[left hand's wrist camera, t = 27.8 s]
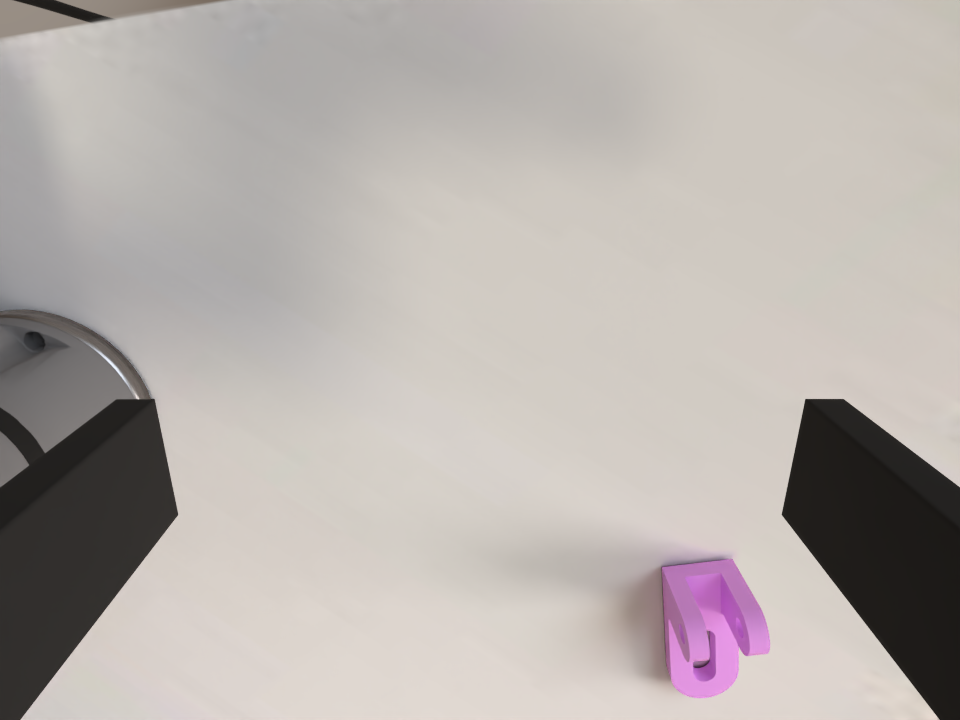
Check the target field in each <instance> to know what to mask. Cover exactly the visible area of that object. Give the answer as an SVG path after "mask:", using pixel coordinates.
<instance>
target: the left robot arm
mask: <svg viewBox="0 0 960 720" xmlns="http://www.w3.org/2000/svg"><path fill="white" fill-rule="evenodd" d="M14 1H17V2H21V3H25V4H28V5H32V6H36V7H39V8H43V9H46V10H49V11H53V12H56V13H59V14H63V15H66V16H69V17H73V18H76V19H79V20H83V21H86V22H89V23H95V22H101V21H106V20H112V19H113V18H110V17H106V16H103V15H100V14H97V13H93V12H90V11H87V10H84V9H81V8H78V7H75V6H72V5H68V4H66V3H63V2H60V1H57V0H14ZM177 516H178V511H177V507H176V502H175V497H174V492H173V487H172V482H171V477H170V472H169V468H168V463H167V458H166V453H165V448H164V443H163V438H162V433H161V429H160V424H159V419H158V414H157V409H156V404H155V399H151V398H150V395H149V393H148V391H147V388H146V386H145V385H144V383H143V381H142V379H141V377H140V376H139V374H138V373H137V371H136V370H135V369H134V367H133V366H132V365H131V364H130V362H129V361H128V360H127V359H126V358H125V357H124V356H123V355H122V353H121V352H119V351H118V350H117V349H116V348H115V347H114V346H113V345H112V344H111V343H109V342H108V341H107V340H105V339H104V338H103V337H101V336H100V335H98V334H97V333H95V332H94V331H92V330H90V329H88V328H87V327H85V326H83V325H81V324H79V323H77V322H74V321H72V320H70V319H67V318H64V317H61V316H58V315H54V314H51V313H46V312H41V311H33V310H9V311H2V312H0V720H20V719H21V718H22V717H23V715H24V714H25V713H26V712H27V710H28V709H29V708H30V706H31V705H32V704H33V702H34V701H35V700H36V699H37V697H38V696H39V695H40V693H41V692H42V691H43V690H44V688H45V687H46V686H47V684H48V683H49V682H50V680H51V679H52V678H53V677H54V675H55V674H56V673H57V671H58V670H59V669H60V667H61V666H62V665H63V664H64V662H65V661H66V660H67V658H68V657H69V656H70V654H71V653H72V652H73V651H74V649H75V648H76V647H77V645H78V644H79V643H80V642H81V640H82V639H83V638H84V636H85V635H86V634H87V632H88V631H89V630H90V629H91V627H92V626H93V625H94V623H95V622H96V621H97V619H98V618H99V617H100V616H101V614H102V613H103V612H104V610H105V609H106V608H107V606H108V605H109V604H110V603H111V601H112V600H113V599H114V597H115V596H116V595H117V593H118V592H119V591H120V590H121V588H122V587H123V586H124V584H125V583H126V582H127V581H128V579H129V578H130V577H131V575H132V574H133V573H134V571H135V570H136V569H137V568H138V566H139V565H140V564H141V562H142V561H143V560H144V558H145V557H146V556H147V555H148V553H149V552H150V551H151V549H152V548H153V547H154V545H155V544H156V543H157V542H158V540H159V539H160V538H161V536H162V535H163V534H164V533H165V531H166V530H167V529H168V527H169V526H170V525H171V523H172V522H173V521H174V520H175V518H176V517H177ZM782 516H783V517H784V518H785V520H786V521H787V522H788V523H789V525H790V526H791V527H792V529H793V530H794V531H795V533H796V534H797V535H798V536H799V538H800V539H801V540H802V542H803V543H804V544H805V545H806V547H807V548H808V549H809V551H810V552H811V553H812V555H813V556H814V557H815V558H816V560H817V561H818V562H819V564H820V565H821V566H822V568H823V569H824V570H825V571H826V573H827V574H828V575H829V577H830V578H831V579H832V581H833V582H834V583H835V584H836V586H837V587H838V588H839V590H840V591H841V592H842V594H843V595H844V596H845V597H846V599H847V600H848V601H849V603H850V604H851V605H852V606H853V608H854V609H855V610H856V612H857V613H858V614H859V616H860V617H861V618H862V619H863V621H864V622H865V623H866V625H867V626H868V627H869V629H870V630H871V631H872V632H873V634H874V635H875V636H876V638H877V639H878V640H879V642H880V643H881V644H882V645H883V647H884V648H885V649H886V651H887V652H888V653H889V654H890V656H891V657H892V658H893V660H894V661H895V662H896V664H897V665H898V666H899V667H900V669H901V670H902V671H903V673H904V674H905V675H906V677H907V678H908V679H909V680H910V682H911V683H912V684H913V686H914V687H915V688H916V690H917V691H918V692H919V693H920V695H921V696H922V697H923V699H924V700H925V701H926V702H927V704H928V705H929V706H930V708H931V709H932V710H933V712H934V713H935V714H936V715H937V717H938V718H939V719H940V720H960V487H959V486H957V485H956V484H955V483H953V482H952V481H951V480H949V479H948V478H947V477H945V476H944V475H943V474H941V473H940V472H939V471H938V470H936V469H935V468H934V467H932V466H931V465H930V464H928V463H927V462H926V461H924V460H923V459H922V458H920V457H919V456H918V455H916V454H915V453H914V452H912V451H911V450H910V449H909V448H907V447H906V446H905V445H903V444H902V443H901V442H899V441H898V440H897V439H895V438H894V437H893V436H891V435H890V434H889V433H887V432H886V431H885V430H884V429H882V428H881V427H880V426H878V425H877V424H876V423H874V422H873V421H872V420H870V419H869V418H868V417H866V416H865V415H864V414H862V413H861V412H860V411H858V410H857V409H856V408H855V407H853V406H852V405H851V404H849V403H848V402H847V401H845V400H844V399H805V404H804V409H803V414H802V419H801V424H800V429H799V433H798V438H797V443H796V448H795V453H794V458H793V463H792V468H791V472H790V477H789V482H788V487H787V492H786V497H785V502H784V507H783V511H782Z"/></svg>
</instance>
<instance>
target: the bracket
mask: <svg viewBox="0 0 960 720" xmlns="http://www.w3.org/2000/svg"><path fill="white" fill-rule="evenodd" d="M662 582H663V603H664V623H665V644H666V664H667V669H668V672H669V674H670V677H671V680H672V683H673V685H674V687H675V688H676V689H677V690H678V691H679V692H681V693H682V694H684V695H686V696H689V697H694V698H707V697H712V696H715V695H718V694H720V693H722V692H724V691H725V690H727V689H728V688H729V687H730V686H731V685H732V684H733V683H734V682H735V680H736V678H737V676H738V664H739V647H740V649H741V651H742V653H743V654H744V655H745V656H751V655H760V654H768V653H769V650H770V638H769V632H768V627H767V624H766V620H765V617H764V615H763V612H762V610H761V608H760V606H759V604H758V603H757V601H756V599H755V597H754V596H753V594H752V592H751V591H750V589H749V587H748V585H747V584H746V582H745V580H744V578H743V577H742V575H741V573H740V572H739V570H738V568H737V566H736V565H735V563H734V561H733V559H728V560H719V561H711V562H702V563H693V564H685V565H676V566H667V567H662ZM707 630H708V631H710V647H709V640H708V635H707ZM709 657H710V661H709V663H708V664H707V665H706V666H704V667H702V668H694V667H693V662H695V661H704V660H709Z"/></svg>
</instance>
